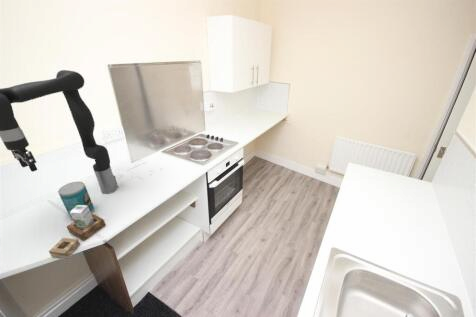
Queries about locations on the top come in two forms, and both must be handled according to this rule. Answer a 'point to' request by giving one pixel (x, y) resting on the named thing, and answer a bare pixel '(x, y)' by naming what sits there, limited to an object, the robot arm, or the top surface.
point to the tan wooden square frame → (59, 247)
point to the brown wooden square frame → (87, 231)
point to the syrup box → (82, 216)
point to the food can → (75, 196)
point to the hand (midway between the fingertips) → (29, 168)
